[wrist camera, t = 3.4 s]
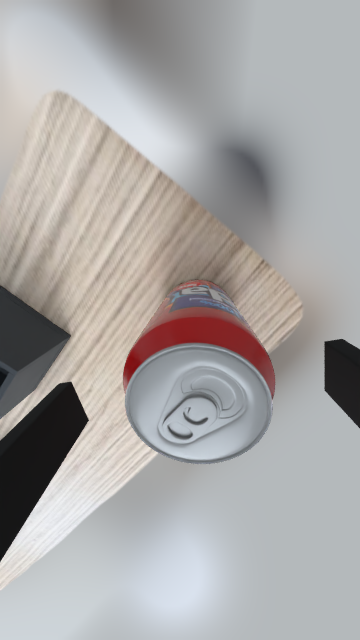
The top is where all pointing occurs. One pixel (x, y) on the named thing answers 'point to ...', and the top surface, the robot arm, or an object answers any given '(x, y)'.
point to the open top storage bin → (24, 349)
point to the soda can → (199, 378)
